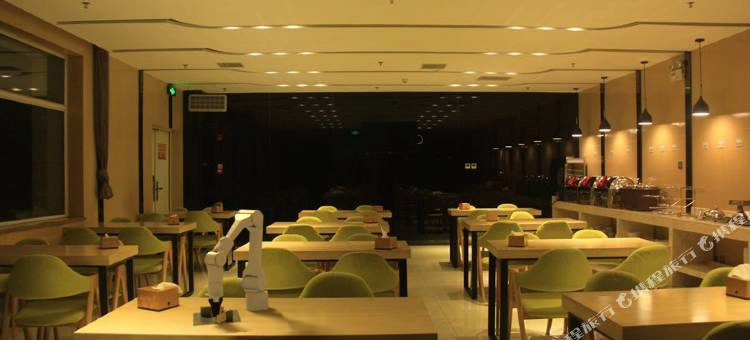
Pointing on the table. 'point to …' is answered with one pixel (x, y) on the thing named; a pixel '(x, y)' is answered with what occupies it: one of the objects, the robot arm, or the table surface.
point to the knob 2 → (225, 315)
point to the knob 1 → (208, 310)
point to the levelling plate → (213, 319)
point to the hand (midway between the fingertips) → (215, 316)
